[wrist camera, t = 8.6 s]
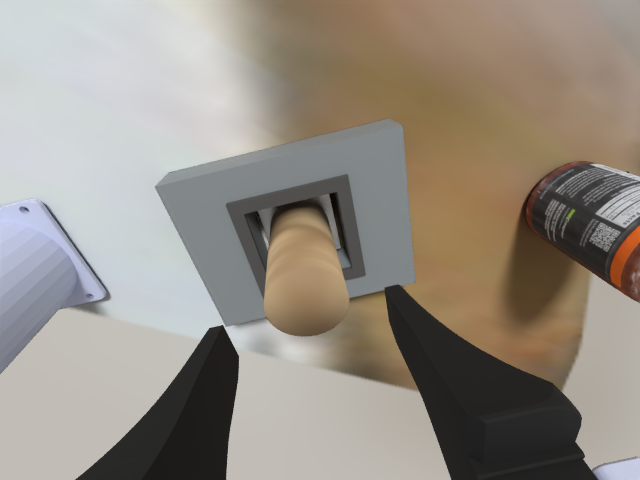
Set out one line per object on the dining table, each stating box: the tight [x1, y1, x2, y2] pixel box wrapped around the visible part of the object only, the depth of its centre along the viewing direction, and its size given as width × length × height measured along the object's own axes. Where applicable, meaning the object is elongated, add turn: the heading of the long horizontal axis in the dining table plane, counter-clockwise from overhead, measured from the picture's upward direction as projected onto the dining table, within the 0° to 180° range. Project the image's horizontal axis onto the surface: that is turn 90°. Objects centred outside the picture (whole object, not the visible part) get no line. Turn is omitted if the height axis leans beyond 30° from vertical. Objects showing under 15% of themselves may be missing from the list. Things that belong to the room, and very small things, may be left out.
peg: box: [264, 200, 349, 336], centre depth 18 cm, size 4×4×8 cm
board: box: [155, 118, 415, 327], centre depth 21 cm, size 14×11×3 cm
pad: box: [258, 194, 341, 249], centre depth 22 cm, size 5×5×1 cm
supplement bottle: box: [526, 161, 640, 303], centre depth 19 cm, size 6×6×11 cm
